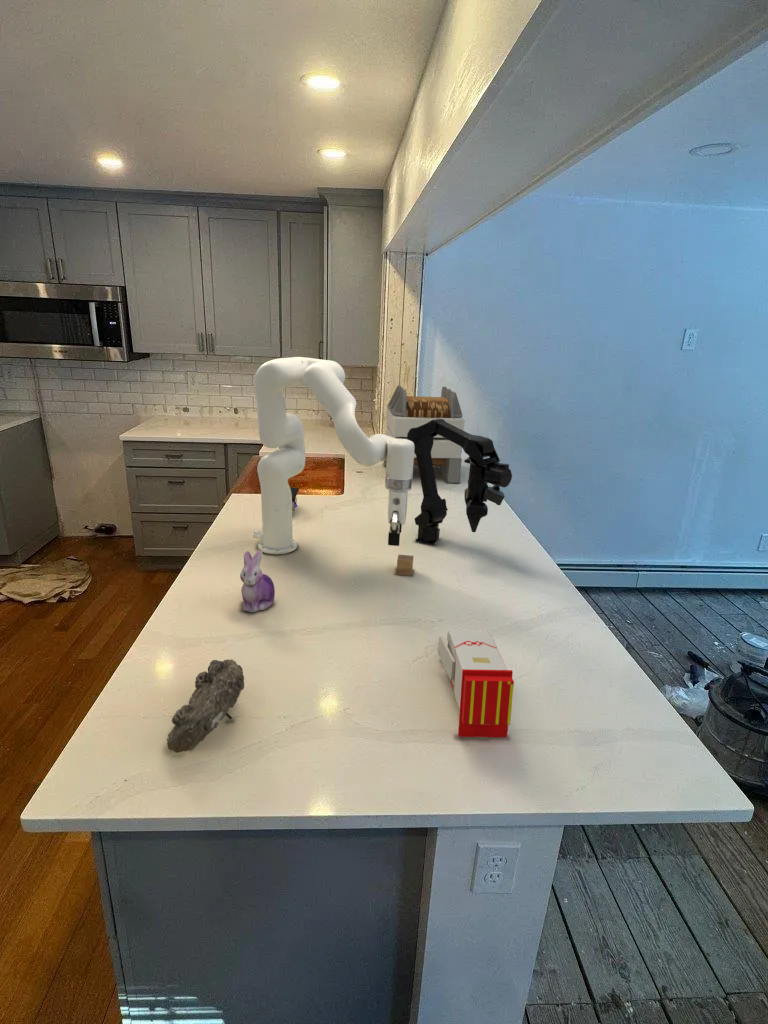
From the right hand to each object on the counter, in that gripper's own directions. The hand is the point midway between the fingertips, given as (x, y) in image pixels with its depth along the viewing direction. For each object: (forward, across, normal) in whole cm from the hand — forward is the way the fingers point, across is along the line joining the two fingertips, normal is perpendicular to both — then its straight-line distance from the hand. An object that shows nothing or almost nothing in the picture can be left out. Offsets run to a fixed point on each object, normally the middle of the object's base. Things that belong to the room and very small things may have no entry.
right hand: (472, 526), depth 179 cm
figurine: (+11, -41, +57) cm, 71 cm away
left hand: (0, -15, +24) cm, 28 cm away
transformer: (+11, +97, +20) cm, 99 cm away
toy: (+11, -69, +3) cm, 70 cm away
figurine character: (+11, +31, +68) cm, 75 cm away
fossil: (+11, -84, +52) cm, 100 cm away
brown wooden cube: (+11, -14, +20) cm, 27 cm away
